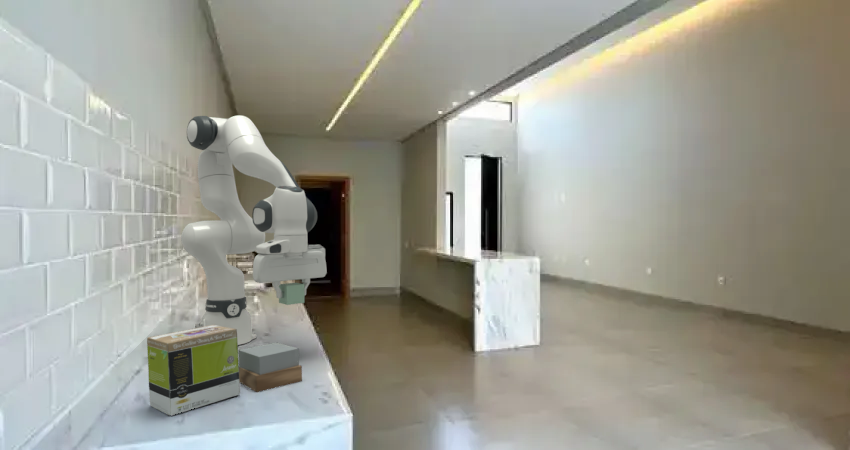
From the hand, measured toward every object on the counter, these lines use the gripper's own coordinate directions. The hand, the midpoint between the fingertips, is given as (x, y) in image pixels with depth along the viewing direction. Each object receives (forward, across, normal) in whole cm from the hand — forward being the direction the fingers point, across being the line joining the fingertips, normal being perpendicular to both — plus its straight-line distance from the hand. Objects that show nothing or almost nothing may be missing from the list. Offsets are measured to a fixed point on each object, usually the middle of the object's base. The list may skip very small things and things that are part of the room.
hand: (291, 296), depth 136 cm
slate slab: (+14, +12, +12) cm, 22 cm away
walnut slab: (+18, +12, +13) cm, 25 cm away
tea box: (+18, +29, +14) cm, 37 cm away
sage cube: (+2, 0, 0) cm, 2 cm away
